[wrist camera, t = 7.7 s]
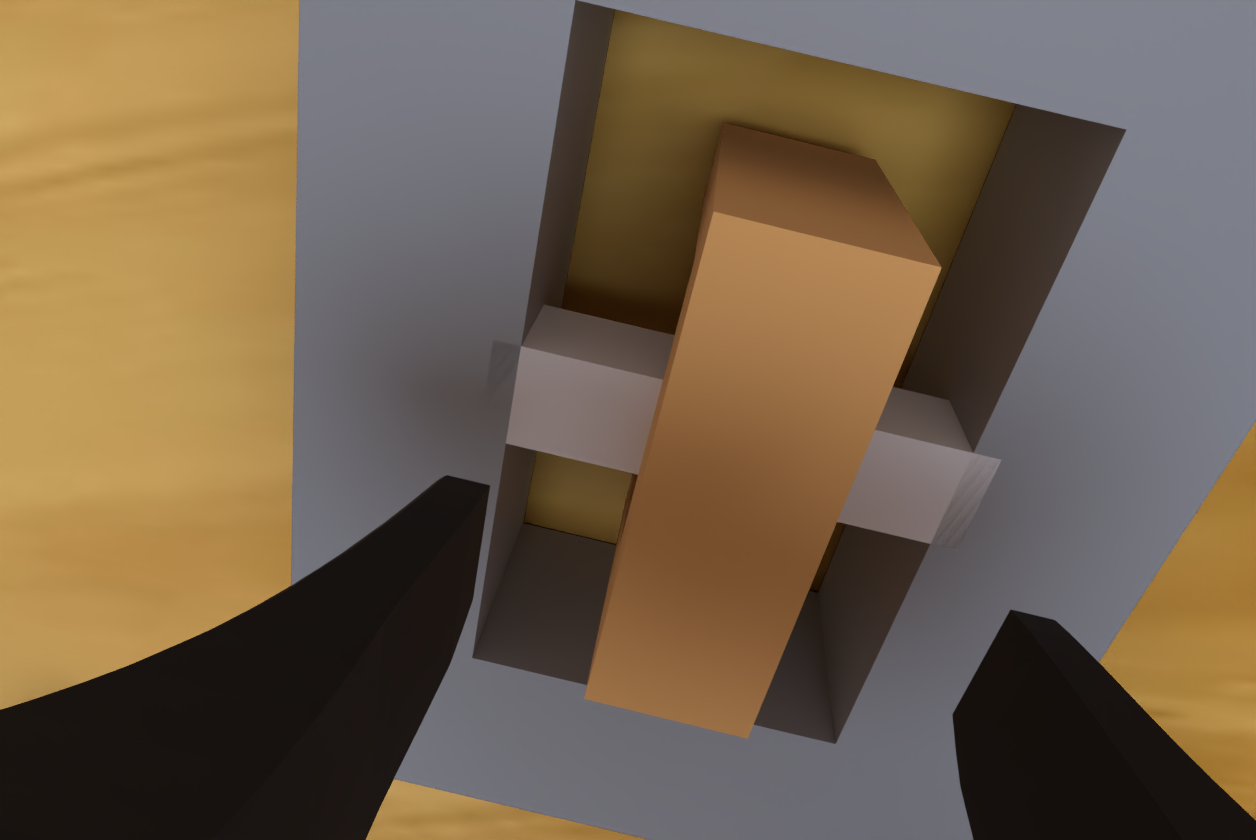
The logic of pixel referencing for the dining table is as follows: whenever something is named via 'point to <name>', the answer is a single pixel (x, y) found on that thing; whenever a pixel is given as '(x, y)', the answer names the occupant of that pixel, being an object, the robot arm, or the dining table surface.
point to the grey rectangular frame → (637, 357)
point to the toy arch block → (757, 425)
